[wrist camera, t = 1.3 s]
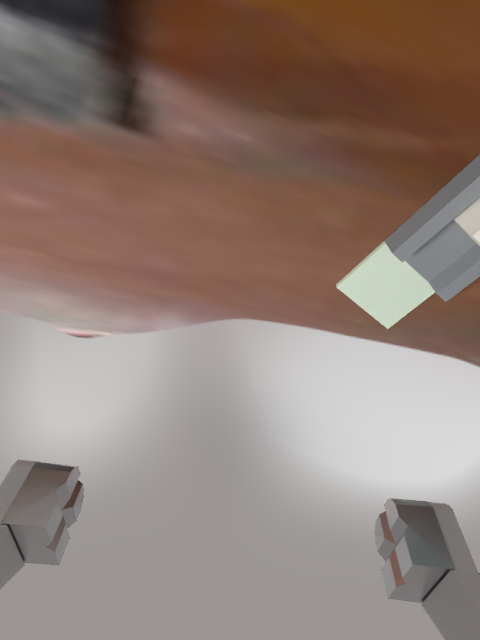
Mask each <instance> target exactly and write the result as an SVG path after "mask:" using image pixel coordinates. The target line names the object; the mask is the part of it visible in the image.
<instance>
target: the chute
mask: <svg viewBox="0 0 480 640" xmlns="http://www.w3.org/2000/svg"><path fill="white" fill-rule="evenodd" d="M479 197H480V155H479V156H477V157H476V158H475V159H474V160H473V161H472V162H471V163H470V164H469V165H468V166H466V167H465V168H464V169H463V170H462V171H461V172H460V173H459V174H458V175H457V176H455V177H454V178H453V179H452V180H451V181H450V182H449V183H448V184H447V185H445V186H444V187H443V188H442V189H441V190H440V191H439V192H438V193H437V194H436V195H434V196H433V197H432V198H431V199H430V200H429V201H428V202H427V203H426V204H425V205H423V206H422V207H421V208H420V209H419V210H418V211H417V212H416V213H415V214H413V215H412V216H411V217H410V218H409V219H408V220H407V221H406V222H405V223H404V224H402V225H401V226H400V227H399V228H398V229H397V230H396V231H395V232H394V233H393V234H391V235H390V236H389V237H388V238H387V239H386V240H385V241H384V242H383V243H382V244H380V245H379V246H378V247H377V248H376V249H375V250H374V251H373V252H372V253H370V254H369V255H368V256H367V257H366V258H365V259H364V260H363V261H362V262H361V263H359V264H358V265H357V266H356V267H355V268H354V269H353V270H352V271H351V272H350V273H348V274H347V275H346V276H345V277H344V278H343V279H342V280H341V281H340V282H338V283H337V284H336V287H337V288H338V289H339V290H340V291H342V292H343V293H344V294H345V295H347V296H348V297H349V298H350V299H351V300H353V301H354V302H355V303H356V304H358V305H359V306H360V307H361V308H363V309H364V310H365V311H366V312H367V313H369V314H370V315H371V316H372V317H374V318H375V319H376V320H377V321H379V322H380V323H381V324H382V325H383V326H385V327H386V328H387V329H388V328H390V327H391V326H392V325H394V324H395V323H396V322H397V321H399V320H400V319H401V318H403V317H404V316H405V315H406V314H408V313H409V312H410V311H412V310H413V309H414V308H416V307H417V306H418V305H419V304H421V303H422V302H423V301H425V300H426V299H427V298H428V297H430V296H431V295H432V294H434V293H435V292H436V294H437V295H439V296H440V297H441V298H442V299H443V300H444V301H445V302H447V301H448V300H449V299H450V298H452V297H453V296H454V295H456V294H457V293H458V292H460V291H461V290H462V289H464V288H465V287H466V286H468V285H469V284H470V283H472V282H473V281H474V280H476V279H477V278H478V277H480V246H479V245H478V244H477V243H476V242H475V241H474V240H473V239H472V238H471V237H470V236H469V235H468V234H467V233H466V232H465V231H464V230H463V229H462V228H461V227H460V226H459V225H458V224H457V223H456V222H455V221H454V220H453V219H454V218H455V217H456V216H458V215H459V214H460V213H461V212H462V211H463V210H465V209H466V208H467V207H468V206H469V205H470V204H472V203H473V202H474V201H475V200H476V199H477V198H479Z"/></svg>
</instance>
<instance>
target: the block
mask: <svg viewBox="0 0 480 640" xmlns="http://www.w3.org/2000/svg"><path fill="white" fill-rule="evenodd" d="M453 220H454V221H455V222H456V223H457V224H458V225H459V226H460V227H461V228H462V229H463V230H464V231H465V232H466V233H467V234H468V235H469V236H470V237H471V238H472V239H473V240H474V241H475V242H476V243H477V244H478V245H479V246H480V197H479V198H477V199H476V200H475V201H474V202H473V203H472V204H470V205H469V206H468V207H467V208H466V209H465V210H463V211H462V212H461V213H460V214H459V215H458V216H456V217H455V218H454V219H453Z"/></svg>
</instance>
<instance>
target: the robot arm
mask: <svg viewBox="0 0 480 640" xmlns="http://www.w3.org/2000/svg"><path fill="white" fill-rule="evenodd" d="M79 476H80V471H79V467H78V466H70V465H61V464H51V463H41V462H36V461H25V460H18V461H16V462H15V463H14V464H13V465H12V466H11V468H10V470H9V471H8V473H7V475H6V476H5V478H4V480H3V481H2V483H1V485H0V589H1V588H2V587H3V586H4V585H5V584H6V583H7V582H8V581H9V580H10V579H11V578H12V577H13V576H14V575H15V574H16V573H17V572H18V571H19V570H20V569H21V568H22V567H23V566H24V563H36V564H51V565H59V563H60V561H61V558H62V556H63V554H64V551H65V549H66V546H67V544H68V541H69V539H70V537H69V534H68V530H67V528H68V527H70V526H71V525H72V524H73V523H74V522H75V521H77V518H78V515H79V513H80V510H81V506H82V502H83V498H84V496H83V495H84V489H83V484H82V483H81V482H80V481H78V478H79ZM384 506H385V510H386V511H385V512H384V513H381V514H379V516H378V518H377V520H376V525H375V540H376V545H377V551H378V552H379V553H380V555H381V556H382V557H383V558H384V559H385V564H384V566H383V568H382V573H383V578H384V582H385V587H386V591H387V596H388V598H389V599H396V600H404V601H411V602H419V603H422V604H421V605H422V607H423V608H424V610H425V611H426V613H427V614H428V615H429V617H430V618H431V620H432V621H433V623H434V624H435V625H436V627H437V629H438V630H439V631H440V633H441V634H442V636H443V637H444V639H445V640H480V573H478V571H477V569H476V566H475V564H474V561H473V559H472V556H471V554H470V551H469V549H468V546H467V544H466V541H465V539H464V536H463V534H462V532H461V529H460V527H459V524H458V522H457V519H456V517H455V514H454V512H453V509H452V508H451V507H450V506H449V505H447V504H442V503H432V502H426V501H413V500H402V499H388V500H387V502H386V503H385V505H384Z"/></svg>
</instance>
